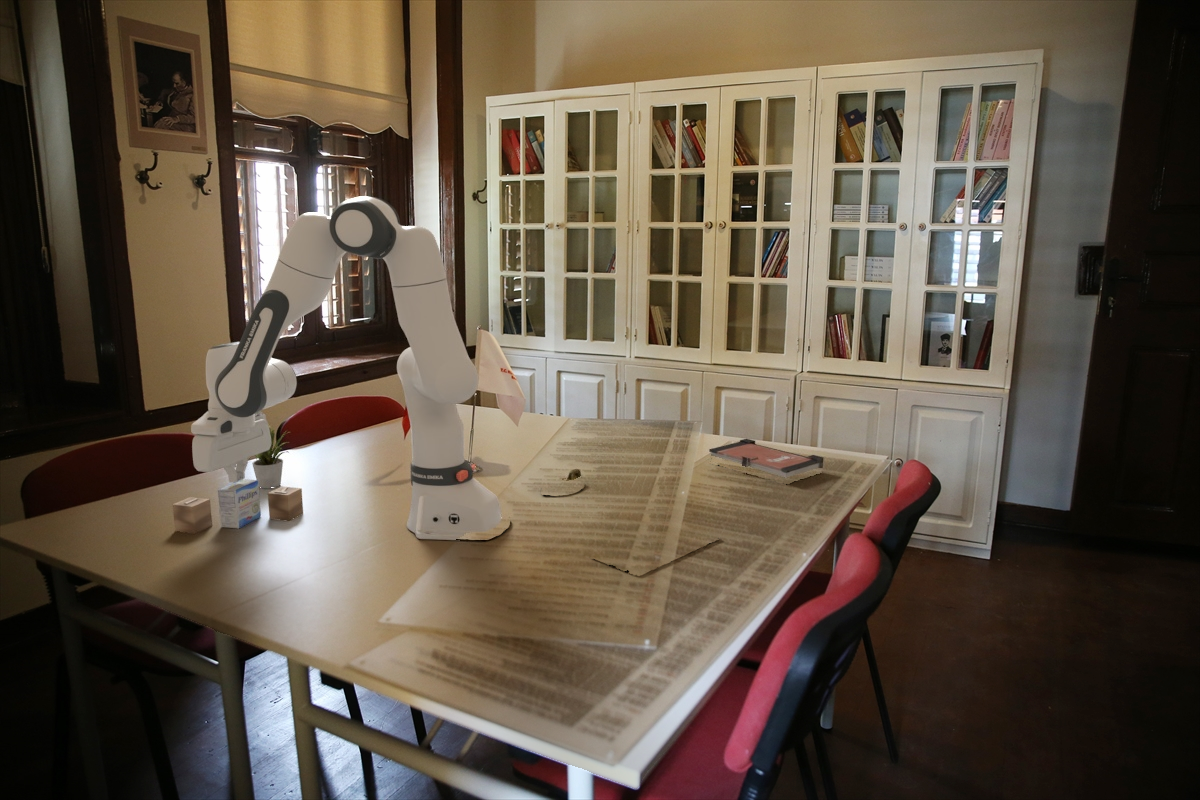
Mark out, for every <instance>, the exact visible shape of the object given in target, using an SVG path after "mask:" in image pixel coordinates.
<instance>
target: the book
mask: <svg viewBox="0 0 1200 800" xmlns="http://www.w3.org/2000/svg"><path fill="white" fill-rule="evenodd" d="M708 450H709V452H710V457H711V456H715V457H719V458H722V459H725V460H730V461H733V462H737V463H740V464H742V466H745V467H748V466H750V467H752V468H756V469H759V470H762V471H765V472H768V473H771V474H775V475H778V476H781V477H785V478H787V477H790V476H793V475H797V474H800V473H804V472H807V471H810V470H813V469H817V468H823V469H824V457H823V456H819V455H815V454H812V455H808V456H805V455H801V454H797V453H794V452H789V451H785V450H781V449H777V448H773V447H769V446H765V445H760V444H756V440H754V439H749V438H744V439H740V440H739V441H737V442H733V443H730V444H726V445H720V446H717V447H714V448H709V449H708Z"/></svg>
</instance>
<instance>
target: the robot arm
mask: <svg viewBox="0 0 1200 800" xmlns="http://www.w3.org/2000/svg"><path fill="white" fill-rule="evenodd" d="M346 253H349V254H351V255H354V256H358V257H365V258H372V259H376V260H380V259H383V261H384V262H385V264H386V266H387V269H388V272H389V278H390V282H391V288H392V289H391V290H392V294H393V299H394V303H395V304H394V305H395V309H396V313H397V318H398V319H397V320H398V324H399V326H400V327H401V329H402V331H403V333H404V335H405V337H406V338H407V342H408V344H409V347H407V348H406V349H404V350H403V351H402V352H401V354H400V355H399V357H398V358H397V362H396V372H397V375H398V377H399V379H400V382H401V386H402V390H403V395H404V401H405V405H406V406H405V407H406V409H407V415H408V419H409V424H410V432H411V433H410V436H411V456H412V457H411V458H412V459H411V461H410V484H411V485H410V486H411V487H412V490H411V504H410V507H409V508H410V509H409V515H408V517H407V518H408V519H407V522H406V528H407V529H408V530H409V531H410V532H412V533H414V534H415V536H416V538H417V539H420V540H439V541H441V540H443V541H444V540H447V541H457V540H456V539H458V538H460V537H462V536H464V534H466V533H470V532H471V533H472V532H487V531H489V530H491V529H493V528H494V527H496V526H497V525H498V524H499V523H500V521H501V519H502V517H501V514H502V510H501V506H500V501H499V498H498V496H497V495H496V494H495V493H493V492H492V491H491V490H489V489H488V488H487V487H486V486H484V485H483V484H482V483H480V481H478V480H477V479H476V478H475V477H474V475H473V474H474V472H473V471H475V469H476V463H473V464H472V465H470V464H469V463H468V462H467V460H466V459H465V428H464V427H465V426H464V424H463V421H462V419H461V416H460V413H459V411H458V407H457V405H458V404H461V403H465V402H467V401H468V400H470V399H471V398H472V397H473V396H474V395H475V393H476V391H477V389H478V386H479V379H480V378H479V377H480V376H479V372H478V370H477V367H476V366H475V364H474V362H473V361H472V360H471V358H470V357H469V354H468V351H467V349H466V345H465V343H464V341H463V337H462V335H461V333H460V331H459V328H458V325H457V322H456V319H455V316H454V312H453V307H452V301H451V296H450V292H449V286H448V285H449V284H448V279H447V274H446V269H445V264H444V261H443V257H442V254H441V251H440V248H439V245H438V243H437V240H436V237H435V235H434V234H433V233H432V232H431V231H430V230H429V229H427V228H425V227H423V226H419V225H418V226H417V225H408V226H407V225H406V226H405V225H401V222H400V217H399V214H398V212H397V210H396V209H395V208H394V206H392V205H391V204H390V203H389V202H388V201H387V200H384V199H383V198H378V197H376V196H375V197H374V196H373V197H372V196H365V195H364V196H363V195H362V196H361V195H360V196H356V197H353V198H350V199H346V200H344V201H342V202H340V204H338V205H337V206H336V207H335V208H334V210H333V212H332V214H331V215H327V214H324V213H320V212H314V211H313V212H305V213H302V214H301V215H299V216H298V217H296V219H295V221H294V223H293V224H292V226H291V227H290V229H289V231H288V233H287V235H286V238H285V240H284V242H283V245H282V246H281V249H280V251H279V255H278V258H277V260H276V263H275V266H274V269H273V272H272V274H271V277H270V279H269V281H268V284H267V285H266V287H265V289H264V291H263V293H262V295H261V296H260V298H259V299H258V302H257V303H256V305H255V307H254V308H253V311H252V313H251V315H250V317H249V320H248V322H247V324H246V326H245V329H244V331H243V333H242V336H241V338H240V341H234V342H233V341H232V342H228V343H223V344H219V345H213V346H212V347H210V348H209V349H208V350H207V354H206V357H205V382H206V389H207V390H208V395H209V399H208V402H207V409H208V410H207V411H206V412H205V413H204V414H203V415H202V416H201V417H199V418H198V419H197V420H195V421H194V422H193V423H192V424H191V425H190V432H191V433H192V434H194V437H193V438H192V443H191V444H192V446H191V448H192V449H191V450H192V451H191V452H192V461H193V462H192V463H193V467H194V469H196V471H198V472H204V473H212V472H214V471H217V470H220V469H223V470H224V471H225V472H226V474H227V475H228V482H229V483H230V484H232V483H235V482H238V481H240V480H243V479H246V477H245V475H246V474H245V472H246V469H247V467H248V463H249V458H250V457H251V458H253V457H255V456H254V455H257V454H260V453H262V452H265V451H267V450H269V449H270V447H271V436H270V430H269V423H268V420H267V416H266V414H265V413H264V412H262V410H265V409H268V408H271V407H274V406H276V405H279V404H281V403H283V402H286V401H287V400H289V399H290V398H292V397H293V395H294V394H295V393H296V391H297V387H298V381H297V380H298V379H297V374H296V371H295V369H294V368H293V367H292V365H290V364H289V363H288V362H286V361H285V360H283V359H281V358H280V359H279V358H273V357H272V356H273V354H274V352H275V349H276V347H277V345H278V342H279V340H280V339H281V337H282V335H283V333H284V332H285V331H286V330H287V329H288V328H289V327H290V326H291V325H293V324H294V323H295V322H296V321H298V320H300V319H301V318H303V317H304V316H305V315H307V314H309V313H311V312H313V311H315V310H316V309H318V308H319V307H320V306H321V305H322V304H323V302H324V301H325V299H326V298H327V296H328V294H329V292H330V291H331V288H332V285H333V281H334V279H335V277H336V273H337V270H338V267H339V264H340V262H341V260H342V258H343V257H344V256H345V254H346ZM252 456H253V457H252Z"/></svg>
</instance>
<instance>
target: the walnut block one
mask: <svg viewBox="0 0 1200 800" xmlns="http://www.w3.org/2000/svg"><path fill="white" fill-rule="evenodd" d="M172 514H173V523H174V531H175V532H177V531H180V532H179V533H185V532H187V534H193V533H194V535H196V534H198V533H200V532H202V531H204V530H206V529H209V528H210V527H212V526H213V518H212V517H213V516H212V507H211V499H210V498H202V497H193V496H189V497H187V498H184V499H182V500H180V501H177V502H175V503H172ZM195 533H196V534H195Z"/></svg>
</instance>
